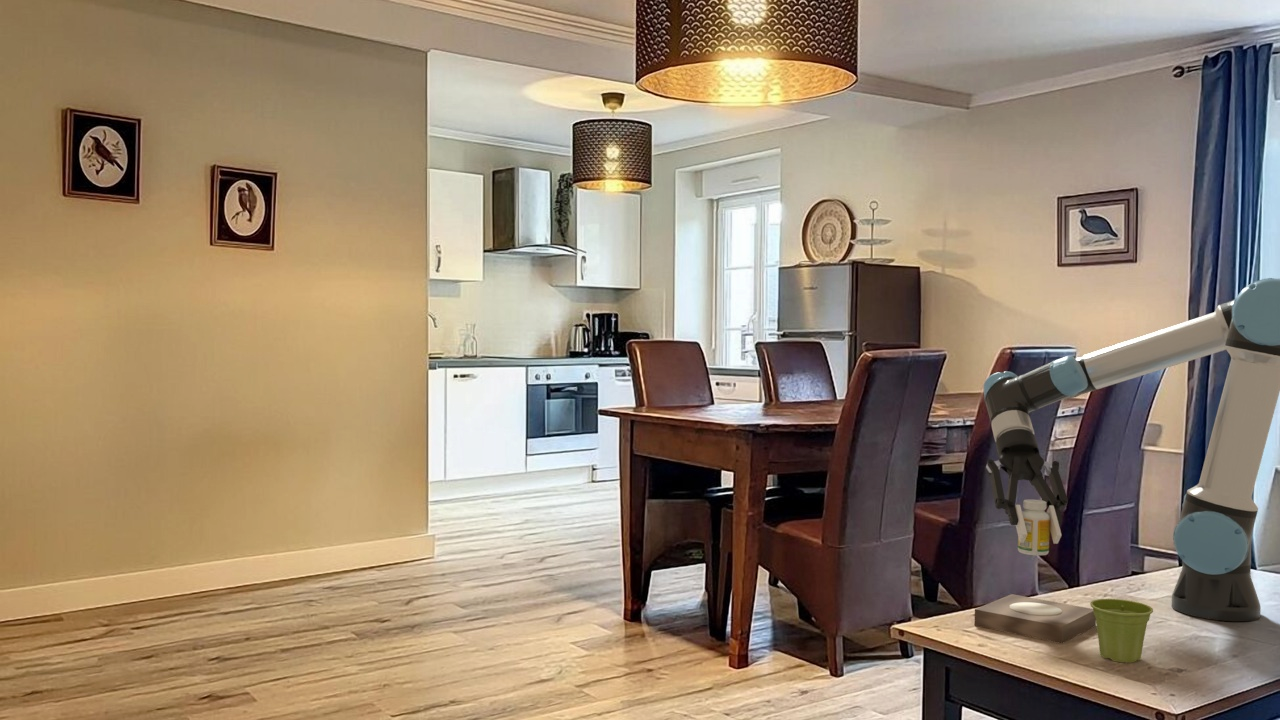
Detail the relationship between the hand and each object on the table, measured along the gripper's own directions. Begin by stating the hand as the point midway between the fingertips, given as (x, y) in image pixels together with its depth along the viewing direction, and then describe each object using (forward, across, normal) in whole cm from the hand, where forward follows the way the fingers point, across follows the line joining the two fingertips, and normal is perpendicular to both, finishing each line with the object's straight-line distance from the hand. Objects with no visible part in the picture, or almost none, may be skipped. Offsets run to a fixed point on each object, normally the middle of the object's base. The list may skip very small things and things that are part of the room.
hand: (1040, 538), depth 185 cm
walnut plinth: (+9, 0, -14) cm, 17 cm away
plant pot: (+23, -8, -1) cm, 24 cm away
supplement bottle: (0, 0, -5) cm, 5 cm away
